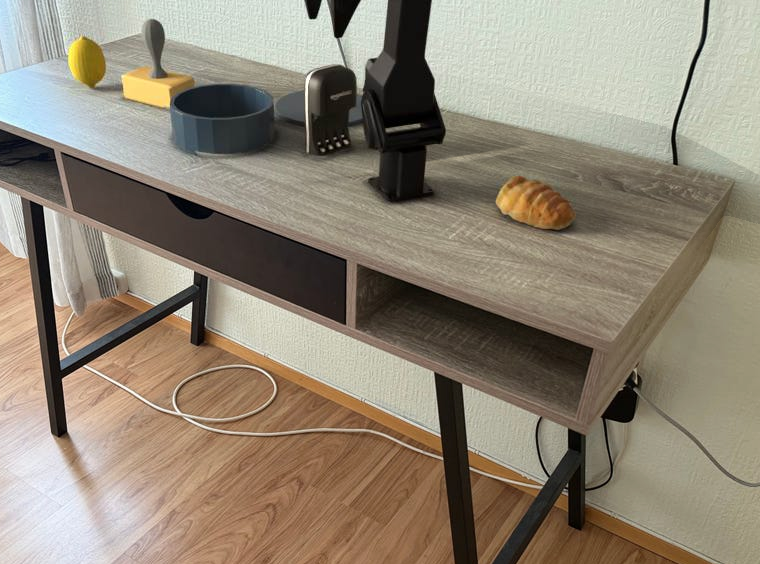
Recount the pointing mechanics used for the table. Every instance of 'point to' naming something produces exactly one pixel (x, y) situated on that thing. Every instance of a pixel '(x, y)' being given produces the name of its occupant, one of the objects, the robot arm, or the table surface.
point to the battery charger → (328, 108)
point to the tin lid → (293, 109)
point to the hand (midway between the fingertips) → (325, 28)
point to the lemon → (87, 61)
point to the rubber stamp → (154, 72)
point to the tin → (222, 135)
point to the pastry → (534, 204)
